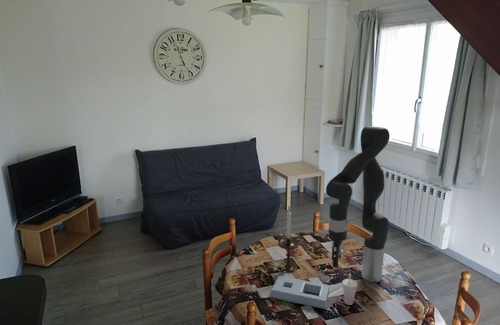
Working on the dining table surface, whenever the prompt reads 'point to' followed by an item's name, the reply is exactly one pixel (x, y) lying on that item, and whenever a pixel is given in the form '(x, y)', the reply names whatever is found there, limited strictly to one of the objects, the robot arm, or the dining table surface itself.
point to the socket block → (300, 291)
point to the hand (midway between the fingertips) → (336, 261)
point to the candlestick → (288, 245)
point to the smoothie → (349, 290)
